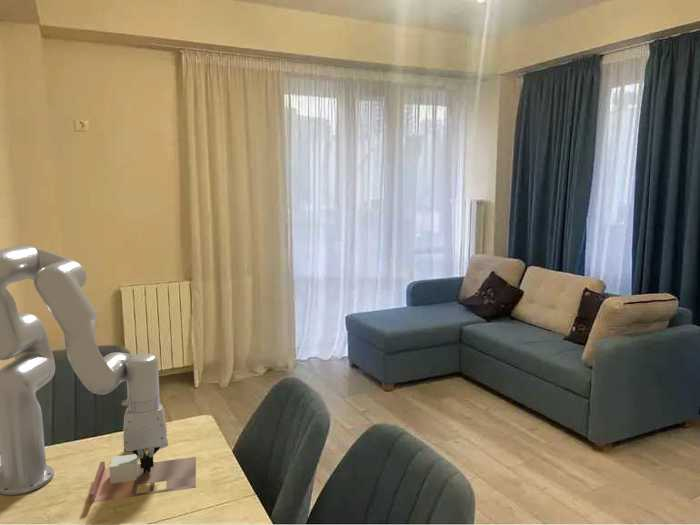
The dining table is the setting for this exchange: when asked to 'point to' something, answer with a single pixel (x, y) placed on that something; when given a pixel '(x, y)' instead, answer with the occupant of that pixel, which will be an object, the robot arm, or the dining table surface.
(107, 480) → the track
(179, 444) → the dining table surface
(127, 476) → the sage block
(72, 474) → the dining table surface
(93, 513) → the dining table surface
